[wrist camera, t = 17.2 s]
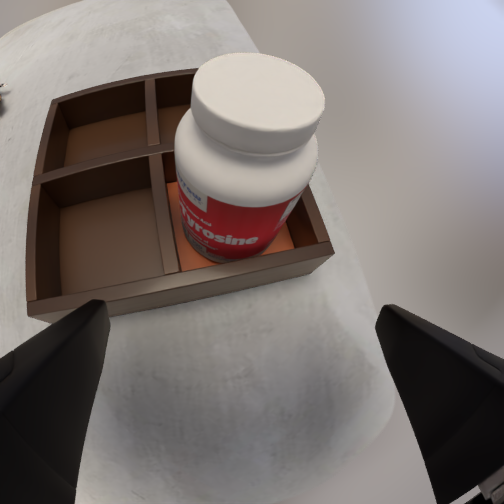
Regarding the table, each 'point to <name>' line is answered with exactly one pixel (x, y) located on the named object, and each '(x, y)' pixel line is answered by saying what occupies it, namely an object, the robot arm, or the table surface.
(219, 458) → the table surface
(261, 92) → the pill bottle
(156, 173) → the grid
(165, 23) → the table surface
